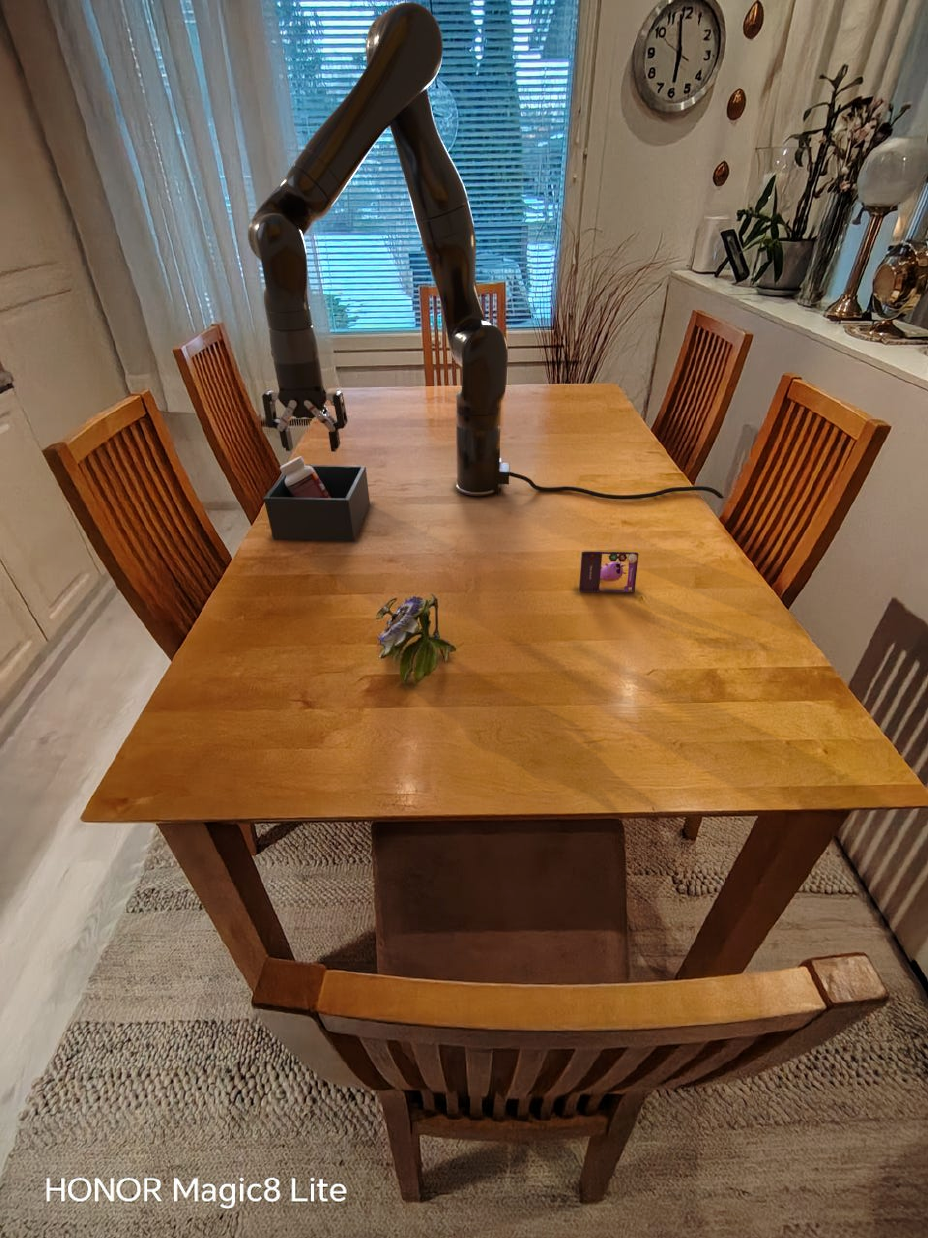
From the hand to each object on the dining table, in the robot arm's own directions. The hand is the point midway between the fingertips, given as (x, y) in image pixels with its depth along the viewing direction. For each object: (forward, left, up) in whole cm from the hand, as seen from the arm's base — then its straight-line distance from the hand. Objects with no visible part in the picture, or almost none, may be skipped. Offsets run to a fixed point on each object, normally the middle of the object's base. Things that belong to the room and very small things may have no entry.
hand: (312, 449), depth 109 cm
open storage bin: (0, 0, -15) cm, 15 cm away
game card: (-53, +20, -15) cm, 59 cm away
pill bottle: (0, 0, -13) cm, 13 cm away
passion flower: (-24, +40, -15) cm, 49 cm away
